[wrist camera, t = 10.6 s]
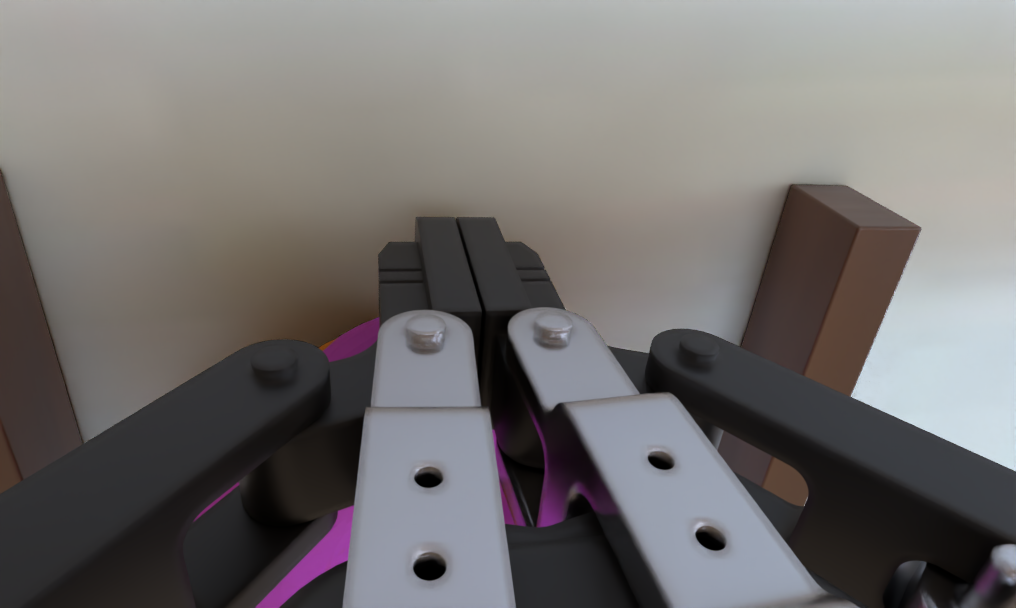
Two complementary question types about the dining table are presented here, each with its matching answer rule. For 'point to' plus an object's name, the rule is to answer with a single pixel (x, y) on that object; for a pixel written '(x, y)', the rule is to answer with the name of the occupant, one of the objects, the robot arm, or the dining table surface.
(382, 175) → the dining table surface
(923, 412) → the dining table surface
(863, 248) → the bay
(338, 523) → the donut
